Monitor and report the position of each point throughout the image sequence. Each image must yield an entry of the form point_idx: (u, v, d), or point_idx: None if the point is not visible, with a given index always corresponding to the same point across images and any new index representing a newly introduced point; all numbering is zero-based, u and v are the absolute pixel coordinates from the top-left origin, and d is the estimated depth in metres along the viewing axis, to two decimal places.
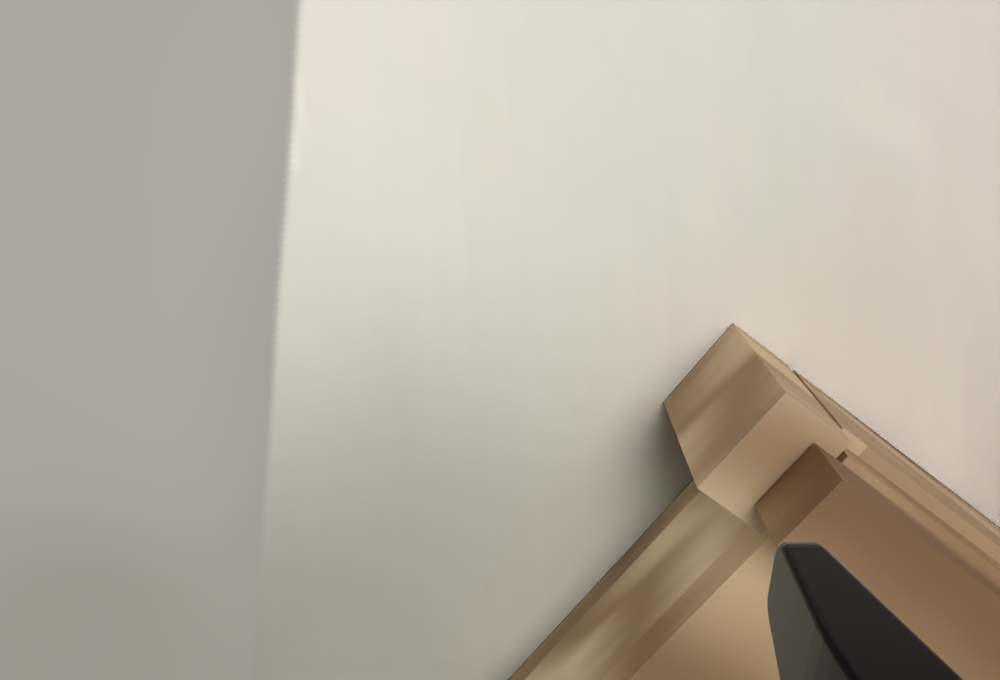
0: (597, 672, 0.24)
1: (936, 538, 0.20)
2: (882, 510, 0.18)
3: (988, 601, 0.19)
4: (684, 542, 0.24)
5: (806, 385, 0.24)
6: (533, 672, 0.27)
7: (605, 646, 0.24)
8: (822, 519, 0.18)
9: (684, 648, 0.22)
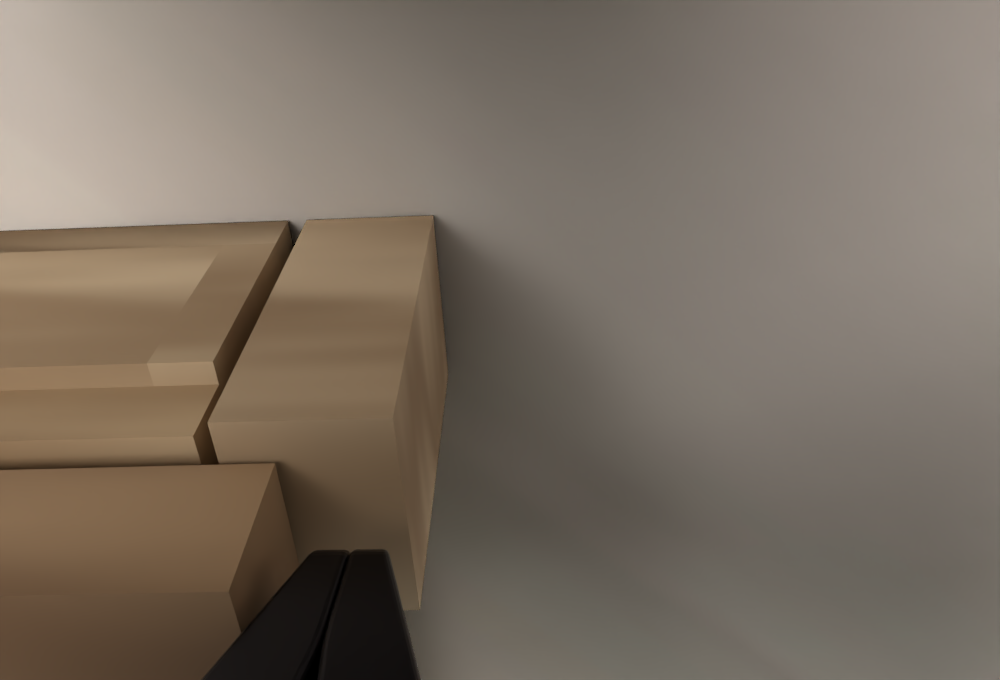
0: None
1: None
2: None
3: None
4: None
5: None
6: None
7: None
8: None
9: None
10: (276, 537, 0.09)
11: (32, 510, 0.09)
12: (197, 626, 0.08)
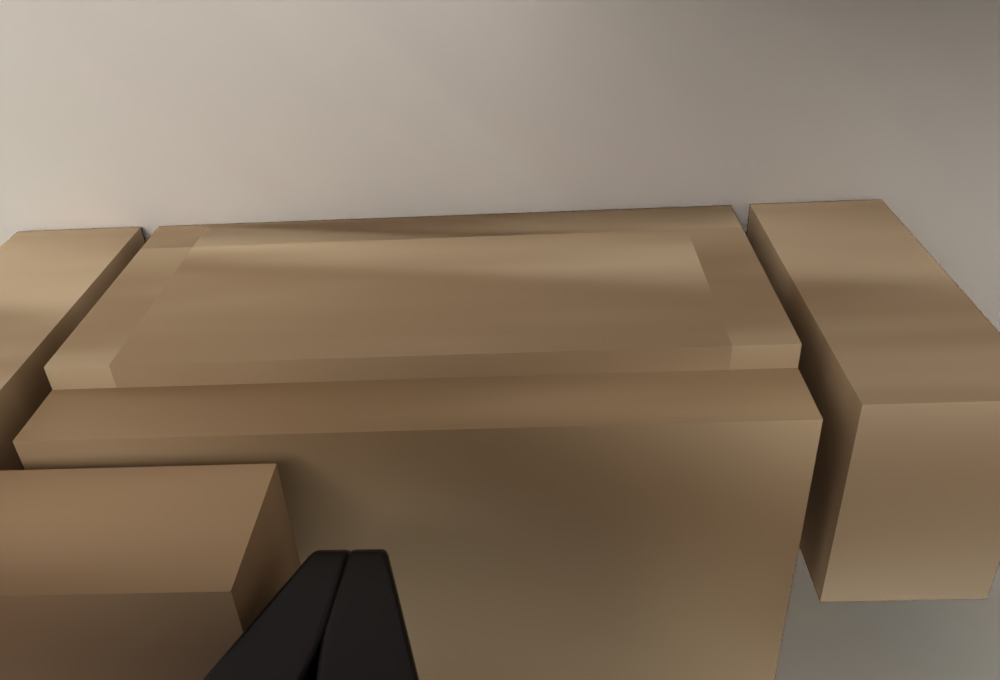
0: None
1: None
2: None
3: None
4: None
5: (134, 259, 0.13)
6: None
7: None
8: None
9: None
10: (278, 537, 0.10)
11: (34, 510, 0.09)
12: (199, 626, 0.08)
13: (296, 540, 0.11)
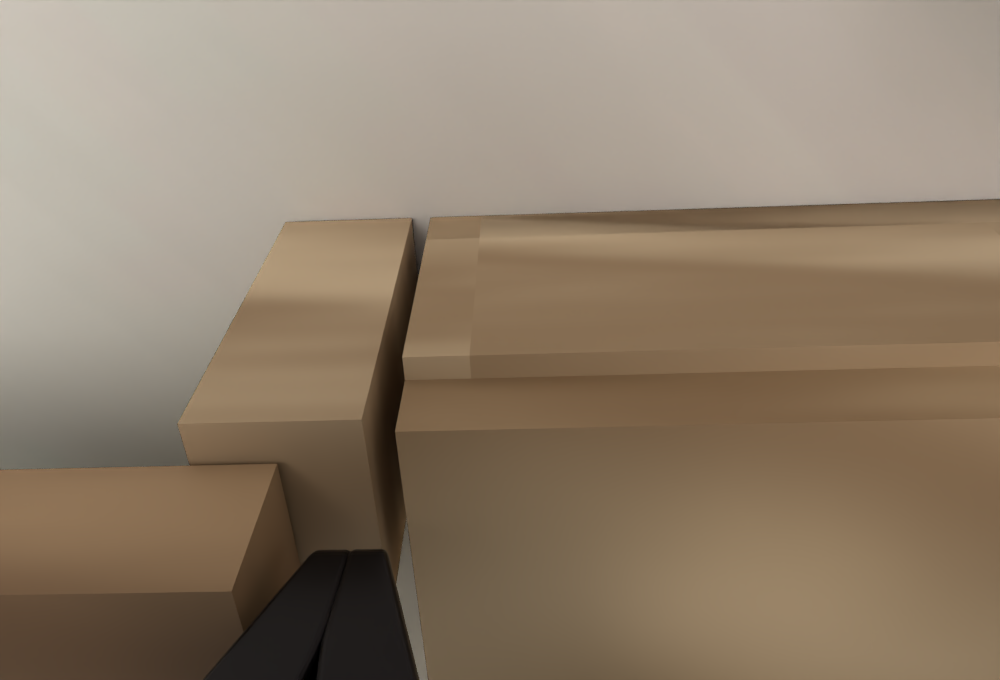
0: None
1: None
2: None
3: None
4: None
5: (425, 250, 0.13)
6: None
7: None
8: None
9: None
10: (278, 537, 0.10)
11: (35, 510, 0.09)
12: (200, 626, 0.08)
13: (655, 534, 0.10)
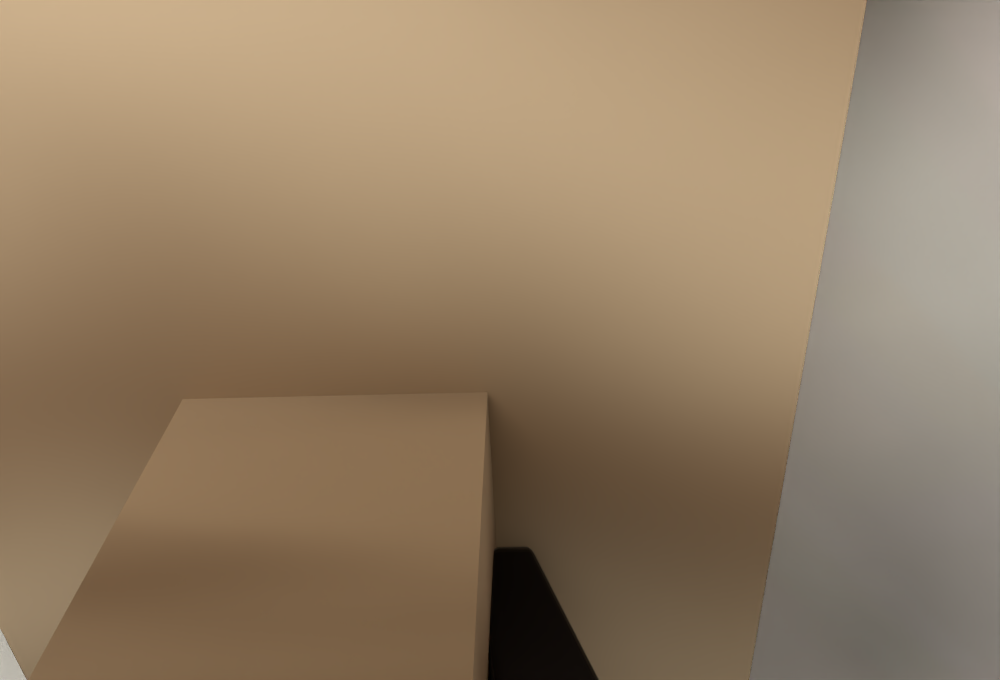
0: None
1: None
2: None
3: None
4: None
5: None
6: None
7: None
8: None
9: None
10: None
11: None
12: None
13: None
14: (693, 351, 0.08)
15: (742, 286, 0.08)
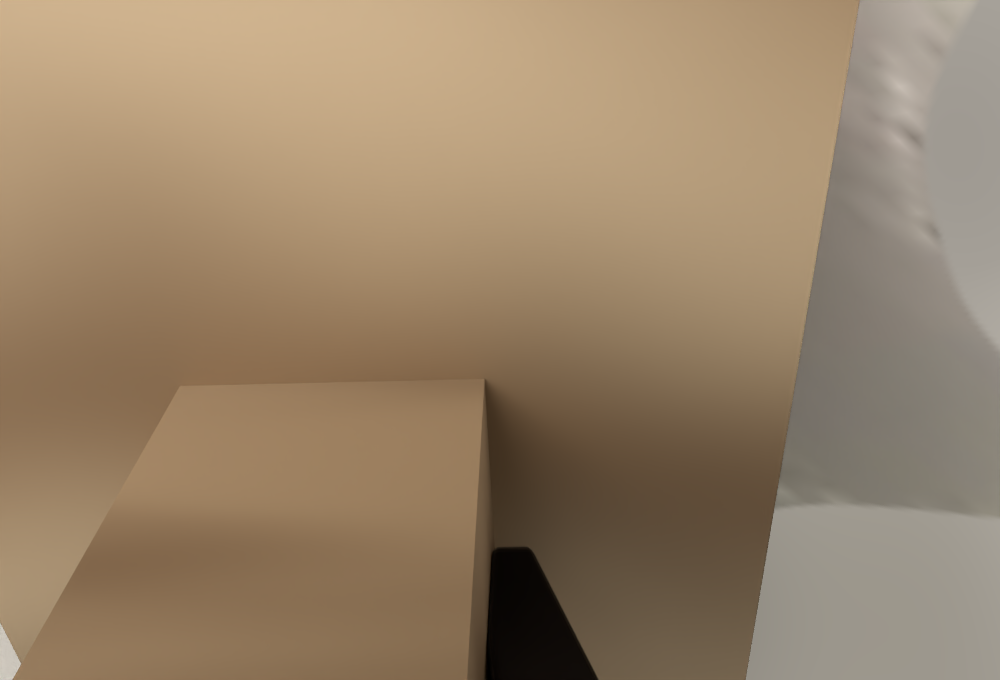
0: None
1: None
2: None
3: None
4: None
5: None
6: None
7: None
8: None
9: None
10: None
11: None
12: None
13: None
14: (690, 337, 0.08)
15: (739, 271, 0.08)
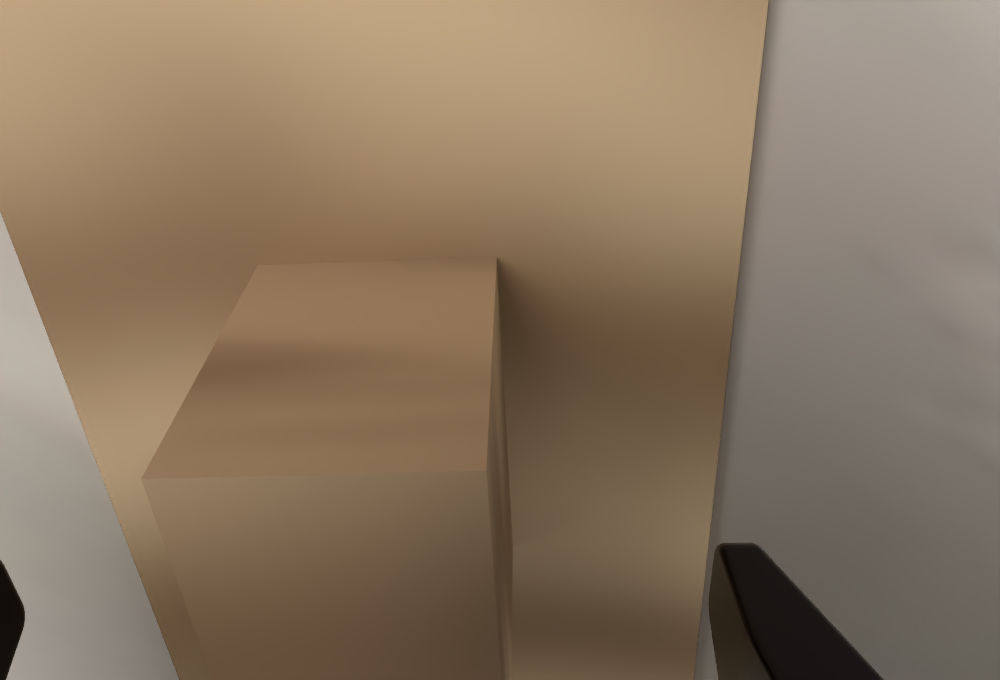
0: None
1: None
2: None
3: None
4: None
5: None
6: None
7: None
8: None
9: (43, 222, 0.11)
10: None
11: None
12: None
13: None
14: (656, 220, 0.11)
15: (693, 165, 0.10)
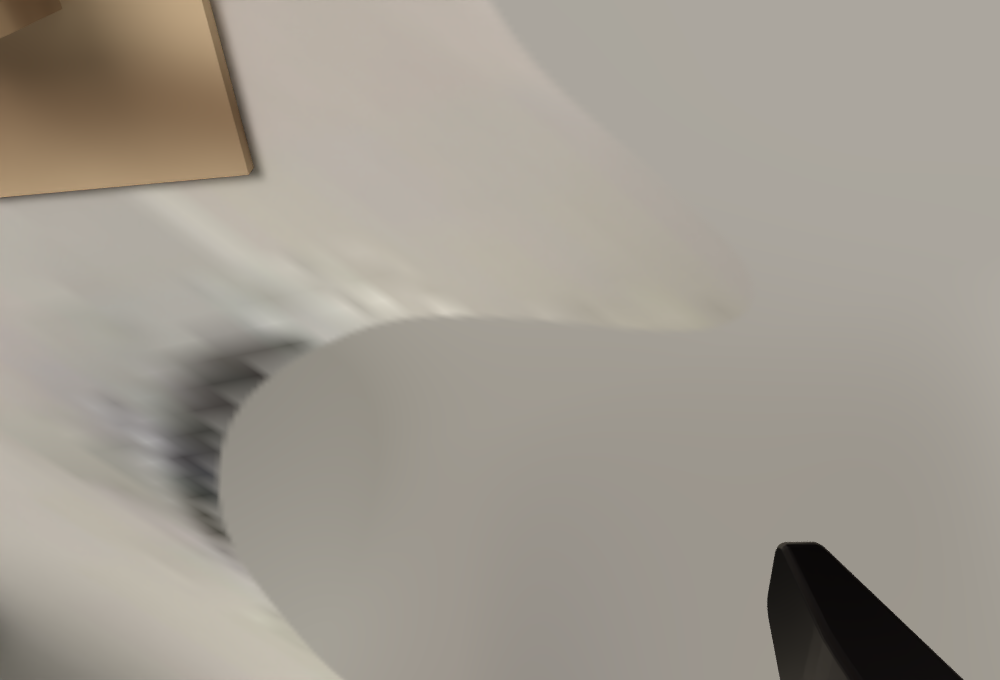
0: None
1: None
2: None
3: None
4: None
5: None
6: None
7: None
8: None
9: None
10: None
11: None
12: None
13: None
14: None
15: None
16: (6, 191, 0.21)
